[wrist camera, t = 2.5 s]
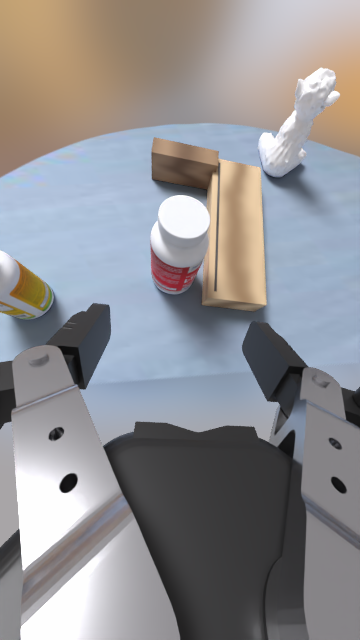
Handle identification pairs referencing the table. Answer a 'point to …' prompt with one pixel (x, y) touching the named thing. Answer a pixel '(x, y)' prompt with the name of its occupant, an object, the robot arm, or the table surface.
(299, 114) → the seated beast figurine
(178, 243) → the pill bottle
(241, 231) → the wooden l-shaped block
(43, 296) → the supplement bottle
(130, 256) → the table surface
